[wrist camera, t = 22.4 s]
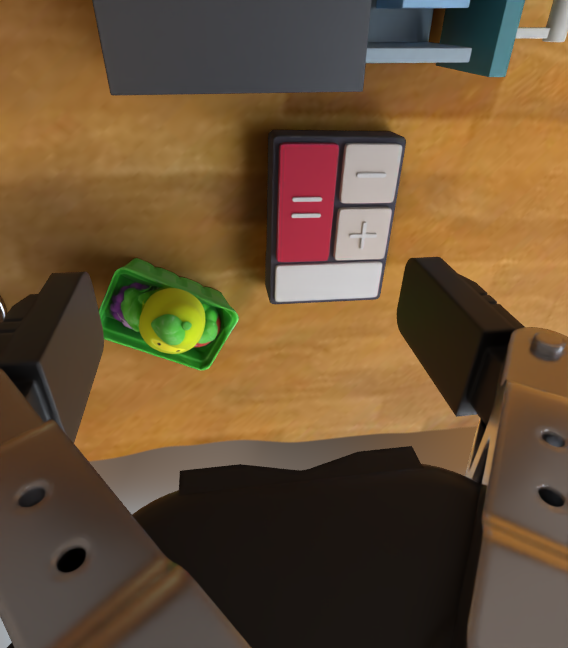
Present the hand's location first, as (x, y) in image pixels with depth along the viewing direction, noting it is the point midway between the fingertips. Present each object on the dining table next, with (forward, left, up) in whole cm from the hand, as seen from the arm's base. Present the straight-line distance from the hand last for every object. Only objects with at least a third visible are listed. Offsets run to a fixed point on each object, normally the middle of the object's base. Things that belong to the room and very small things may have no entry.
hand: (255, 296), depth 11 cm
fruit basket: (-16, +6, -29) cm, 34 cm away
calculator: (-9, -9, -29) cm, 32 cm away
